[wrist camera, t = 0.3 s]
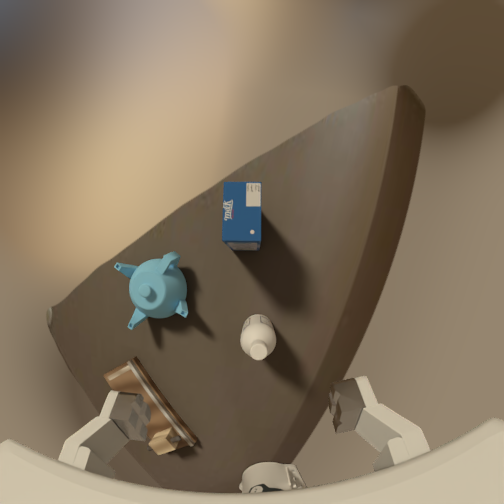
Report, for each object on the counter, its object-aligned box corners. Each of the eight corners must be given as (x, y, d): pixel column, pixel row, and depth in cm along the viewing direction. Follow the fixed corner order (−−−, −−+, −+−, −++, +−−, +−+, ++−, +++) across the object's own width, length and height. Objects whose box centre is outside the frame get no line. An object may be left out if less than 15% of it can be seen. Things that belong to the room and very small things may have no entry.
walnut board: (197, 438, 61) (195, 445, 57) (165, 450, 60) (161, 456, 57) (136, 356, 63) (130, 360, 59) (106, 373, 62) (100, 376, 59)
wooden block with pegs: (188, 435, 59) (182, 446, 53) (158, 446, 59) (151, 457, 53) (178, 424, 59) (173, 435, 53) (149, 435, 59) (141, 446, 53)
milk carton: (233, 208, 65) (223, 181, 45) (259, 208, 65) (261, 181, 45) (232, 250, 64) (222, 240, 44) (259, 250, 64) (260, 241, 44)
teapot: (198, 314, 63) (187, 322, 53) (142, 324, 63) (123, 332, 53) (184, 251, 65) (171, 247, 54) (129, 264, 65) (108, 263, 54)
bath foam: (245, 344, 63) (241, 374, 43) (240, 316, 63) (234, 335, 43) (274, 339, 63) (282, 368, 43) (270, 311, 63) (276, 328, 43)
